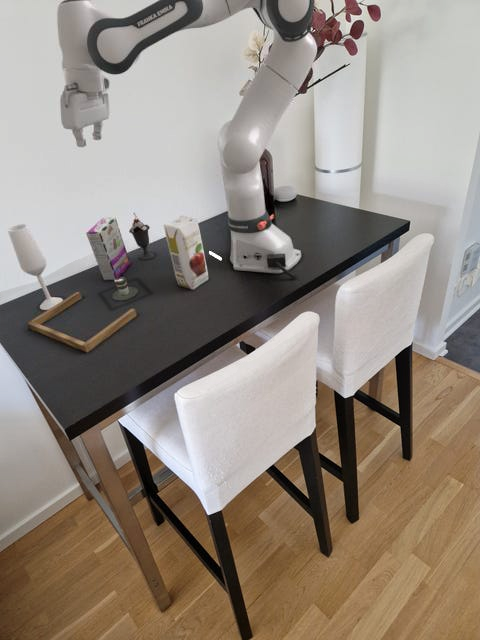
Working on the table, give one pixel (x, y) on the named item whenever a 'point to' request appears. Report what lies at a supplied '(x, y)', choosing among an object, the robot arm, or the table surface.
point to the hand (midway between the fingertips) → (89, 143)
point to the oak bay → (71, 341)
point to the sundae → (141, 237)
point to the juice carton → (186, 251)
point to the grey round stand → (123, 290)
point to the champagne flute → (31, 259)
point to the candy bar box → (108, 248)
